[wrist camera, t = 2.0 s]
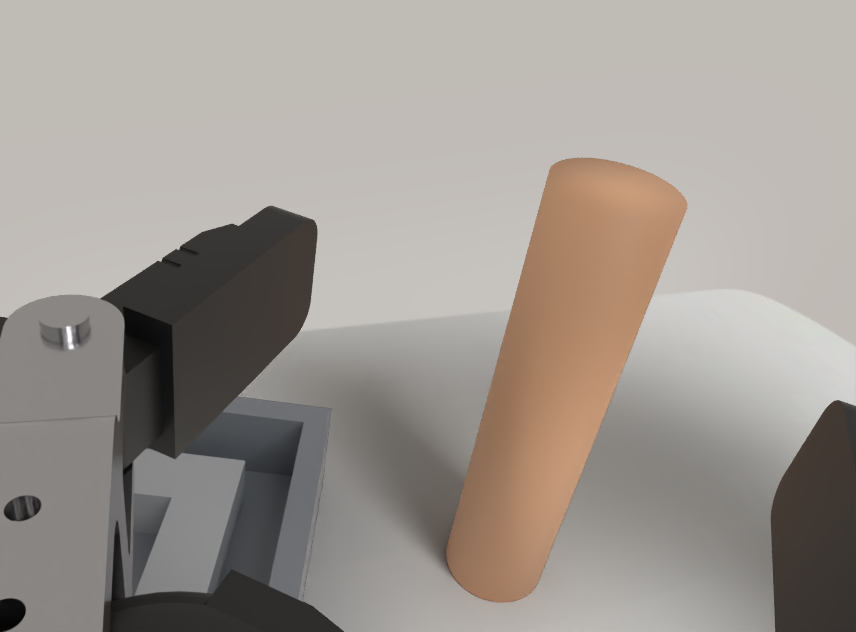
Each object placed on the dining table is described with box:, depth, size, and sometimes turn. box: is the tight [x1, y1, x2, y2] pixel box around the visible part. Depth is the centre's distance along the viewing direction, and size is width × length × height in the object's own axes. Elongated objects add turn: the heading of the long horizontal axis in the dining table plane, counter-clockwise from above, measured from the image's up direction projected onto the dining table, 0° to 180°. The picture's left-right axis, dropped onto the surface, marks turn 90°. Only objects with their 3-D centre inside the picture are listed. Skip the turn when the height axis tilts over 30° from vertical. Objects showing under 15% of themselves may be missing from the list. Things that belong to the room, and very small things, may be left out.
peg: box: [446, 158, 687, 602], centre depth 26 cm, size 4×4×17 cm
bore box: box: [132, 397, 331, 601], centre depth 25 cm, size 16×15×4 cm
